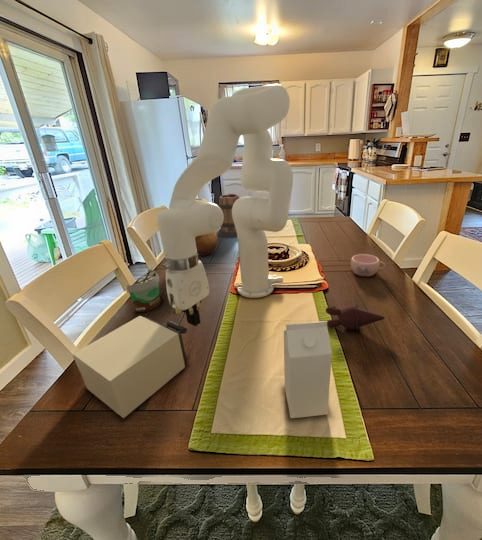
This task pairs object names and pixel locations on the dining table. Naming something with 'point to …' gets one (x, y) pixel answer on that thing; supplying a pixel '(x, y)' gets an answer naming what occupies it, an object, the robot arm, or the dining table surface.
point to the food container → (145, 292)
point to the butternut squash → (205, 240)
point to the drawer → (178, 328)
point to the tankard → (227, 215)
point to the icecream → (351, 317)
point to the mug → (365, 264)
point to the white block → (130, 363)
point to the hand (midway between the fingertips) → (194, 323)
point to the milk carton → (307, 368)
